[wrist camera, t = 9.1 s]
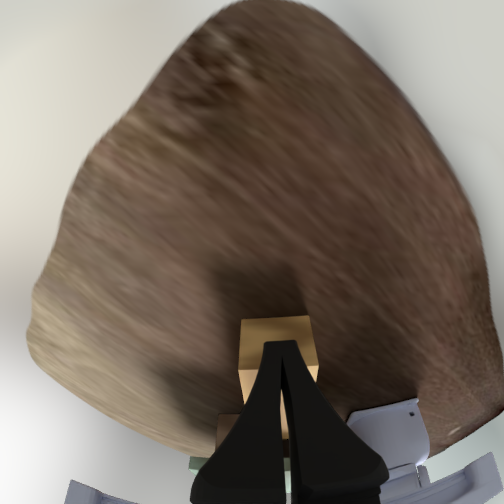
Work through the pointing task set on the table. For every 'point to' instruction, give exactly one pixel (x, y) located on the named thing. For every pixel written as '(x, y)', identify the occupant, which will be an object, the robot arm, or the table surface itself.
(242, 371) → the peg
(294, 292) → the table surface
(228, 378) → the table surface
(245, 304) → the table surface
